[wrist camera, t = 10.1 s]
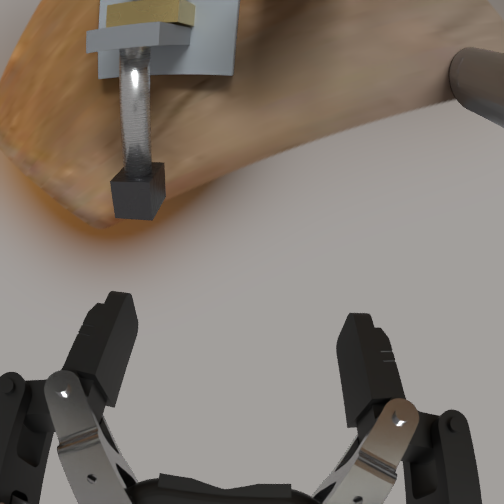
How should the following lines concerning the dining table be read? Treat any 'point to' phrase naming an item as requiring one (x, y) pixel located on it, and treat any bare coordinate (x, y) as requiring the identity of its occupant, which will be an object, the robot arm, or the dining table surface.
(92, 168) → the dining table surface
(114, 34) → the bracket
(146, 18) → the spacer
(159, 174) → the shaft
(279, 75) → the dining table surface
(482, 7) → the dining table surface
